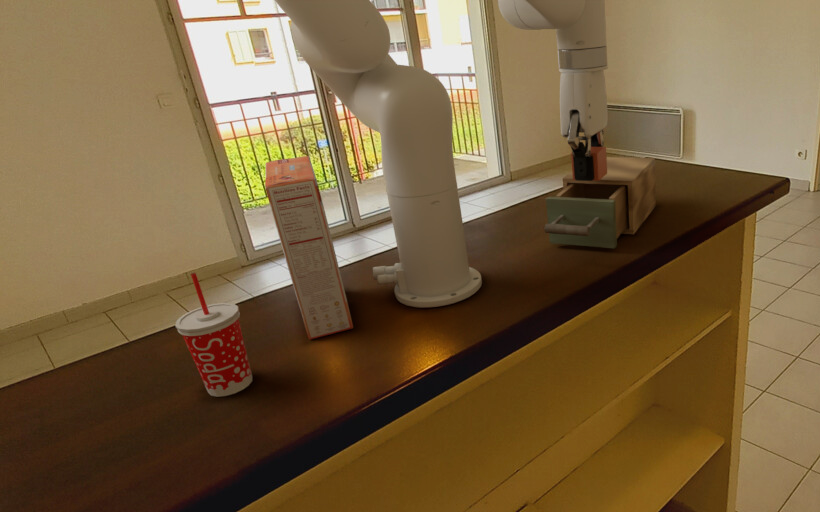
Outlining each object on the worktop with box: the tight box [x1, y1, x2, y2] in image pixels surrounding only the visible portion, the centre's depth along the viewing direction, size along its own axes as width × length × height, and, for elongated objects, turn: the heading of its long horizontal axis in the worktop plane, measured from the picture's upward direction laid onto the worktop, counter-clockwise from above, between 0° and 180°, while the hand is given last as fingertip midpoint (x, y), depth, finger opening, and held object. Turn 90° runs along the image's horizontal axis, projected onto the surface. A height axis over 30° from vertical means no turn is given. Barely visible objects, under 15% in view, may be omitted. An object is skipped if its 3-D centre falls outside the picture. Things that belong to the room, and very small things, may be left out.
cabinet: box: [562, 156, 657, 235], centre depth 113 cm, size 16×13×10 cm
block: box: [570, 146, 608, 181], centre depth 100 cm, size 4×4×4 cm
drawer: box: [544, 183, 629, 249], centre depth 102 cm, size 21×11×8 cm, turn 159°
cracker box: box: [264, 155, 354, 340], centre depth 81 cm, size 14×6×21 cm, turn 25°
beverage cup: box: [174, 272, 253, 398], centre depth 67 cm, size 6×6×14 cm
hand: (589, 174), depth 101 cm, fingers closed on block, 4 cm apart
